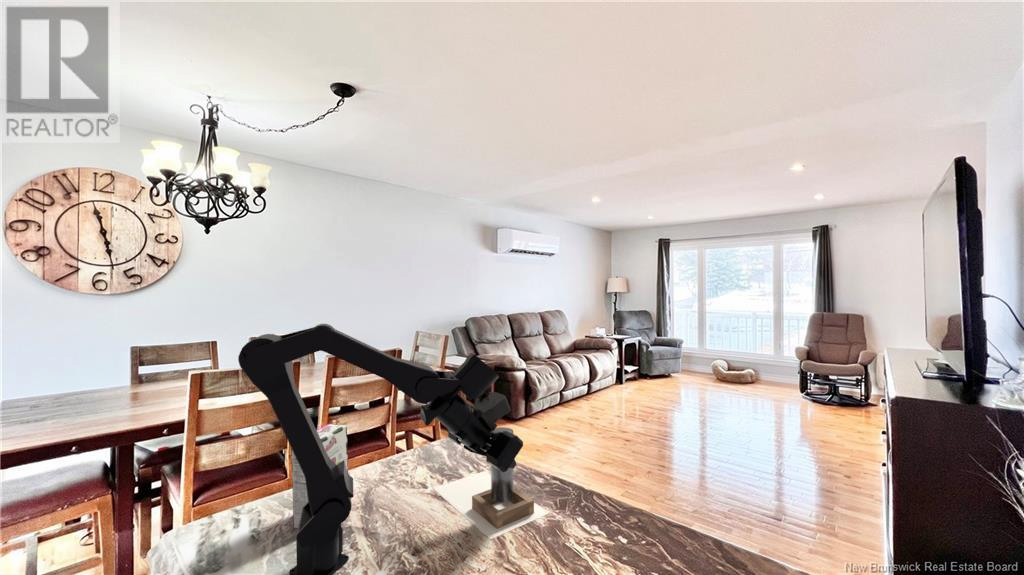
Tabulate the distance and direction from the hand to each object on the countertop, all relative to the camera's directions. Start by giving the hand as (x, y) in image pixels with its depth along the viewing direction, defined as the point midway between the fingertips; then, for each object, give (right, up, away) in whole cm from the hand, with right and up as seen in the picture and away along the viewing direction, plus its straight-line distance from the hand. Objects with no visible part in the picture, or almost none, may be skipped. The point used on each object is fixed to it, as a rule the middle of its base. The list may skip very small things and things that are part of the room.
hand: (507, 461), depth 83 cm
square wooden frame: (-1, -9, -1) cm, 9 cm away
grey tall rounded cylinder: (-1, -7, -1) cm, 7 cm away
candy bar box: (-37, -11, 0) cm, 39 cm away
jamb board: (-4, -10, +3) cm, 12 cm away
